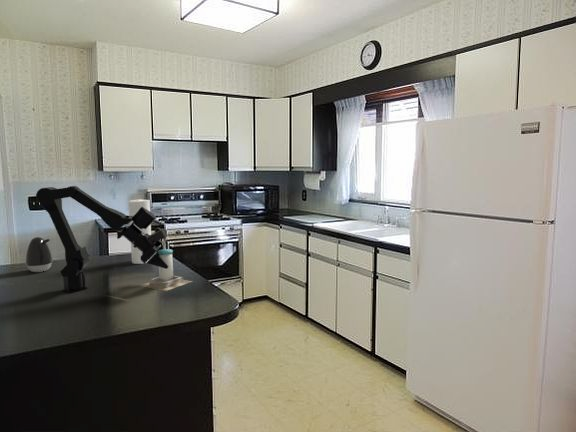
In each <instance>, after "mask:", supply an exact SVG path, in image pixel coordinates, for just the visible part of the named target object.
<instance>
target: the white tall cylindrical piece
mask: <svg viewBox="0 0 576 432" xmlns="http://www.w3.org/2000/svg"><path fill="white" fill-rule="evenodd" d="M173 253H174V250H173V249H171V248H169V249H168V248H166V249H164V248H163V249H162V250H159V256H160V257H161V258H162V259H163V261H164V262H165V263H166V264H167V265H168V268H167V269H165V268H162V267H159V266H158V277H159V281H164V282H167V281H170V280H173V276H174V264H173V263H174V262H173V260H174V259H173Z"/></svg>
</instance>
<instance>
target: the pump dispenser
mask: <svg viewBox="0 0 576 432" xmlns="http://www.w3.org/2000/svg"><path fill="white" fill-rule="evenodd" d="M48 242H50V239H49V238H47V239H44V238H43V237H39V236H36V237H33V238H32V239H31V240H30V241H29V244H28V246H27V249H26V254H25V265H26V268H27V269H28V271H30V272H32V273H43V271H44V272H46V271H48V270H49V269H50V268H51V267H52V263H53V256H52V252H51V250H50V249H51V248H50V247H49V245H48Z"/></svg>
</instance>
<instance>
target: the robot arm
mask: <svg viewBox="0 0 576 432" xmlns="http://www.w3.org/2000/svg"><path fill="white" fill-rule="evenodd" d="M35 198H36V200H37V202H38V204H39V205H40V207H42V208H43V209H44V211H45V212H47V213H48V215H49V217H50V219H51V221H52V224H53V226H54V228H55V230H56V233H57V234H58V237H59V239H60V242H61V243H62V246H63V248H64V258H65V263H66V265H65V266H64V267H63V268H62V269H61V270H60V271H59V272H60V274H61V276H62V281H63V282H62V283H63V288H61V291H63V292H67V293H75V292H79V291H82V290H86V289H88V286H86V276H85V275H84V274H85V273H84V271H85V268H86V266H88V264H89V261H90V258H89V257H90V254H89V253H88V250H87V247H86V246H83V247H82V246H80V245H79V244H78V242H77V239H76V238H75V235H74V232H73V229H72V228H71V227H70V224H69V221H68V219H67V217H66V215H65V213H64V209H63V199H65V198H66V199H67V198H71V199H72V200H74V201H76V203H79V204H80V205H82V206H83V207H85V208H87V209H88V210H90V211H91V212H92V213H94V214H95V215H97V216H98V217H99V218H101V220H102V222H104V223H105V224H106V225H107V226H108V227H109V228H110V229H112V230H117V231H116V235H117V236H116V238H117V240H120V239H121V238H122V237H124V238H125V240H127V241H129V242H130V244H131V243H132V244H133V245H134V246H133V247H134V248H136V247H137V248H138V249H139V250H140V251H141V252H143V253H142V254H143V255H142V256H141V261H142V262H143V264H146V265H147V264H148V265H152V266H155V267H158V268H159V267H162V268H165V269H167V268H168V265H167V264H166V263H165V262H164V261H163V259H162V258H161V257H160V256H159V250H162V249H164V246H165V245H164V242H163V241H162V240H163V239H165V238H166V237H167V234H166V231H165V230H164V228H160V227H157V228H155V229H154V232H153V233H151V235H149V234H144V233H143V232H142V231H141V230H140V229H143V228H144V229H147V227H148V226H149V225H150V224H151V225H152V223H153V222H155V220H156V219H157V217H156V216H155V213H153V212H152V211H151V210H150V211H148V210H147V209H145V208H144V207H141V208H140V209H139V211H138V212H137V213H136V214H135V215H134V216H129V215H127V214H125V213H123V212H121V211H119V210H117V209H114V208H111V207H109V206H107V205H105V204H103V203H102V202H100V201H99V200H97V199H95V198H94V197H92V196H91V195H89V194H88V193H86V192H85V191H84V190H83V189H81V188H80V187H78V186H77V185H71V186H70V185H69V186H67V187H61V188H56V187H54V186H50V187H49V186H48V187H42V188H40V189H38V190H37V192H36V194H35ZM132 221H133V223H132V224H131V225H130V222H132ZM134 224H135V225H136V226H137V227H138V228H137V227H136V226H135V225H134ZM121 228H122V229H121ZM139 228H140V229H139ZM119 229H121V230H119ZM148 260H149V261H148ZM147 261H148V262H147ZM146 262H147V263H146Z"/></svg>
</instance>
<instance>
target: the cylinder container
mask: <svg viewBox="0 0 576 432" xmlns="http://www.w3.org/2000/svg"><path fill="white" fill-rule="evenodd" d="M141 207H144V208H145V209H147V210H148V211H150V212H151V202H150V199H141V198H140V199H132V200H128V211H129V212H128V216H134V215H135V214H136V213H137V212H138V211H139V209H140V208H141ZM132 223H133V221H132V222H130V223H129V226H130V225H131V224H132ZM134 225H135V224H134ZM135 226H136V225H135ZM136 227H137V226H136ZM137 228H138V227H137ZM139 229H140V228H139ZM140 230H141V231H142V232H143V233H144V234H149V235H151V234H152V223H151V224H150V225H149V226H148V227H147V229H144V228H143V229H140ZM133 246H134V245H133V244H132V243H131V242H130V250H131V264H135V265H137V264H139V265H141V264H144V263H143V262H142V261H141V256H142V255H143V254H142V253H143V252H141V251H140V250H139V249H138V248H137V247H136V248H134V247H133ZM148 261H149V260H148ZM148 261H147V262H148ZM147 262H146V263H145V264H147Z"/></svg>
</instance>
